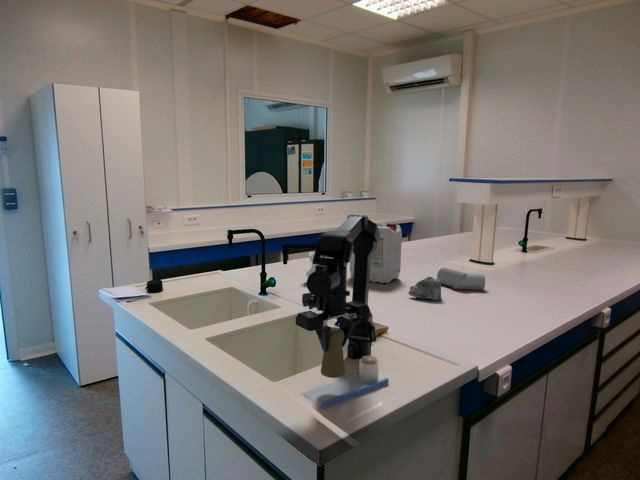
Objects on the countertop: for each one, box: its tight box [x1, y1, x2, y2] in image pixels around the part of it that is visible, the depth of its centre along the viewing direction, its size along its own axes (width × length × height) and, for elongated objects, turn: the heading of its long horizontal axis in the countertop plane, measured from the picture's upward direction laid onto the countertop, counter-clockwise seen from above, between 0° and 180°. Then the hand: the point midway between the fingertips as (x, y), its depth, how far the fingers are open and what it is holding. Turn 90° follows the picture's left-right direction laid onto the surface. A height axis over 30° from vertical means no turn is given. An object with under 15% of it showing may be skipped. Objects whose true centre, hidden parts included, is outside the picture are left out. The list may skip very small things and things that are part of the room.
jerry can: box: [349, 221, 403, 284], centre depth 227 cm, size 24×19×30 cm
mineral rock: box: [408, 276, 442, 301], centre depth 193 cm, size 13×11×10 cm
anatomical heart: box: [305, 251, 326, 279], centre depth 220 cm, size 10×11×15 cm
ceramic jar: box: [358, 355, 380, 384], centre depth 113 cm, size 5×5×6 cm
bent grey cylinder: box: [436, 266, 486, 291], centre depth 213 cm, size 18×11×20 cm
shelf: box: [301, 372, 390, 410], centre depth 108 cm, size 21×9×2 cm, turn 127°
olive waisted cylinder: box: [320, 326, 346, 379], centre depth 105 cm, size 6×6×11 cm
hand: (333, 348), depth 105 cm, fingers closed on olive waisted cylinder, 5 cm apart
